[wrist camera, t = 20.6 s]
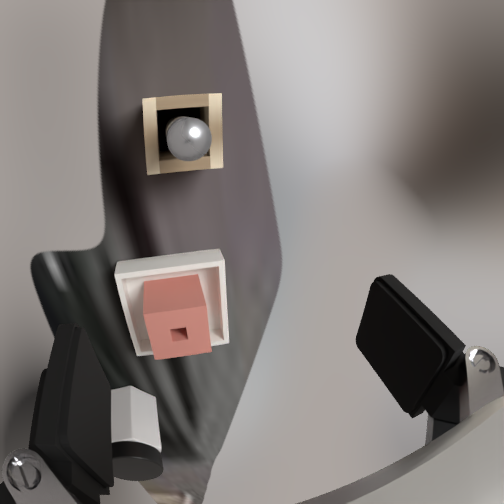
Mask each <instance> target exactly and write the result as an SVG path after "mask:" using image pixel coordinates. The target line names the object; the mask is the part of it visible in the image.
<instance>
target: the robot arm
mask: <svg viewBox="0 0 504 504" xmlns="http://www.w3.org/2000/svg"><path fill="white" fill-rule="evenodd" d="M356 344H357V347H358V348H359V350H360V351H361V352H362V354H363V355H364V356H365V358H366V359H367V361H368V362H369V363H370V365H371V366H372V368H373V369H374V370H375V372H376V373H377V374H378V376H379V377H380V379H381V380H382V381H383V382H384V384H385V386H386V387H387V388H388V390H389V391H390V393H391V394H392V395H393V397H394V398H395V399H396V401H397V402H398V404H399V405H400V407H401V408H402V409H403V411H404V412H406V413H409V415H410V416H411V417H412V418H414V417H416V416H418V415H419V414H421V413H423V411H424V410H426V411H427V412H428V421H427V432H426V443H425V446H423V447H422V448H420V449H418V450H417V451H415V452H413V453H411V454H410V455H408V456H406V457H404V458H402V459H400V460H399V461H397V462H395V463H393V464H391V465H389V466H387V467H385V468H383V469H381V470H379V471H377V472H375V473H373V474H371V475H369V476H367V477H364V478H362V479H360V480H358V481H355V482H353V483H351V484H348V485H346V486H343V487H341V488H339V489H336V490H333V491H331V492H328V493H326V494H323V495H320V496H318V497H315V498H312V499H309V500H306V501H303V502H300V503H297V504H504V367H500V366H499V363H498V360H497V358H496V357H495V355H494V354H493V353H492V352H491V351H489V350H487V349H486V348H483V347H480V346H474V347H471V348H469V349H468V350H467V352H466V353H465V354H464V353H463V350H464V348H465V346H466V345H464V343H463V342H462V341H461V340H460V339H459V338H458V337H457V336H456V335H455V334H454V333H453V332H452V331H451V330H450V329H449V328H448V327H447V326H446V325H445V324H444V323H443V322H442V321H441V320H440V319H439V318H438V317H437V316H436V315H435V314H434V313H433V312H432V311H430V309H429V308H428V307H426V306H425V305H424V304H423V303H422V302H421V301H420V300H419V299H418V298H417V297H416V296H415V295H414V294H413V293H412V292H411V291H410V290H408V289H407V288H406V287H405V286H404V285H403V284H402V283H401V282H400V281H399V280H398V279H397V278H395V277H394V276H393V275H390V274H389V275H384V276H380V277H377V278H376V279H375V280H374V282H373V283H372V284H371V286H370V291H369V294H368V298H367V302H366V305H365V309H364V312H363V316H362V319H361V323H360V326H359V329H358V333H357V336H356ZM2 476H3V480H4V481H3V482H2V483H1V484H0V504H100V495H109V494H110V493H109V492H110V491H109V487H113V485H114V476H113V461H112V438H111V388H110V384H109V382H108V380H107V378H106V376H105V374H104V372H103V370H102V367H101V365H100V363H99V361H98V359H97V356H96V354H95V352H94V349H93V347H92V345H91V342H90V340H89V338H88V335H87V333H86V330H85V329H84V328H83V327H82V328H80V327H79V325H78V324H77V323H72V324H60V325H59V326H58V328H57V332H56V336H55V339H54V343H53V347H52V351H51V356H50V360H49V364H48V368H47V369H44V370H43V372H42V374H41V378H40V382H39V387H38V392H37V397H36V402H35V408H34V414H33V420H32V426H31V433H30V441H29V449H25V448H22V449H17V450H15V451H13V452H11V453H10V454H9V455H8V456H7V457H6V459H5V461H4V463H3V468H2Z"/></svg>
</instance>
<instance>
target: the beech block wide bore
mask: <svg viewBox="0 0 504 504" xmlns="http://www.w3.org/2000/svg"><path fill="white" fill-rule="evenodd" d="M196 107H200V120H201V121H203V122H204V123H205V124H206V125H207V126H208V127H209V129H210V131H211V135H212V142H211V146H210V148H209V150H208V152H207V153H206V154H205V155H204V156H203V157H201V158H200V159H197V160H195V161H182V160H180V159H178V158H176V157H175V156H174V155H173V154H172V153H171V152H170V151H160V152H159V135H158V114H157V111H159V110H170V109H182V108H196ZM143 121H144V139H145V153H146V166H147V175H153V174H161V173H170V172H180V171H190V170H201V169H213V168H223V142H222V93H216V94H193V95H178V96H166V97H155V98H146V99H143Z"/></svg>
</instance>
